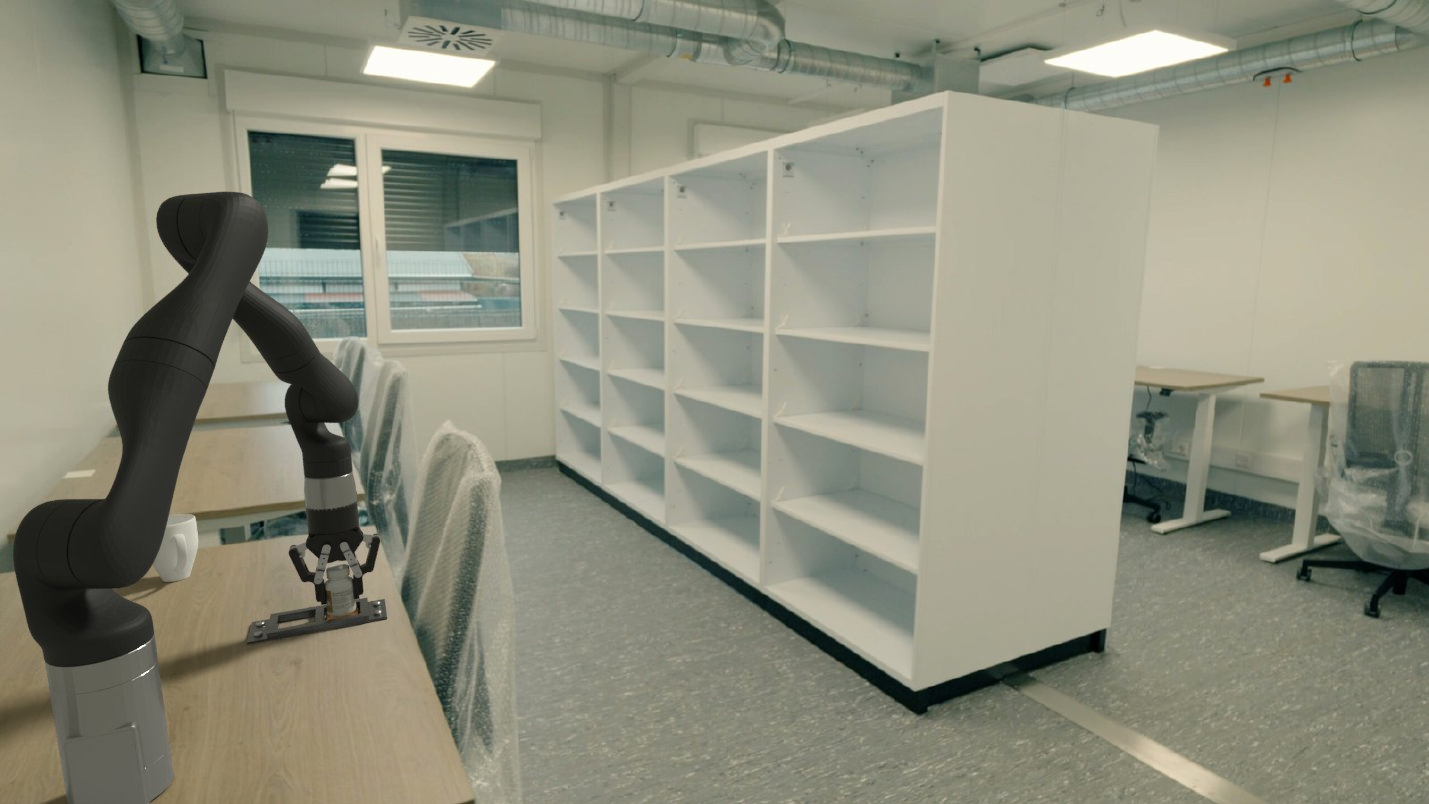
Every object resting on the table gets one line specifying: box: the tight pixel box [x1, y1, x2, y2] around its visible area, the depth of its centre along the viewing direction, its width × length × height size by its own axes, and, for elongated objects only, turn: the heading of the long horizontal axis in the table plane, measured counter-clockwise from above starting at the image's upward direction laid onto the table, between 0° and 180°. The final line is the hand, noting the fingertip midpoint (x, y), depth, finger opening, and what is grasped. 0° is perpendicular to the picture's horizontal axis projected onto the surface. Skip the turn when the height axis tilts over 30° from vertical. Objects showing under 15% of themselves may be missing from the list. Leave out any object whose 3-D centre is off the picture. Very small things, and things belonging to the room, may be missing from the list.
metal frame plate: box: [246, 597, 388, 646], centre depth 126 cm, size 8×20×1 cm, turn 116°
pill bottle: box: [324, 563, 356, 617], centre depth 127 cm, size 4×4×8 cm
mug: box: [152, 513, 199, 583], centre depth 143 cm, size 12×8×11 cm
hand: (340, 599), depth 127 cm, fingers closed on pill bottle, 4 cm apart
